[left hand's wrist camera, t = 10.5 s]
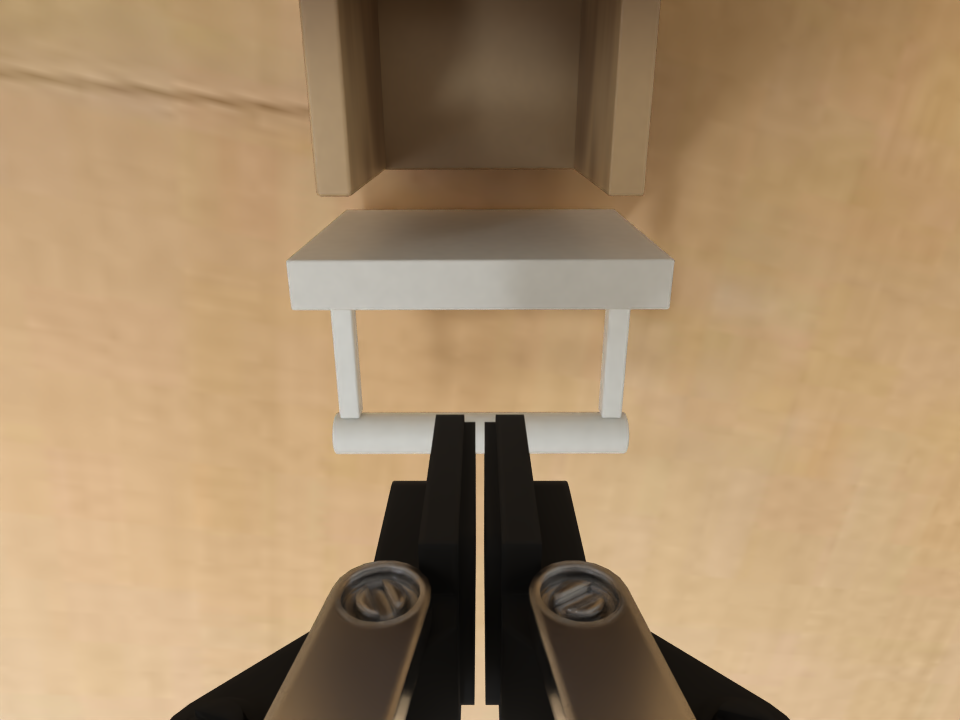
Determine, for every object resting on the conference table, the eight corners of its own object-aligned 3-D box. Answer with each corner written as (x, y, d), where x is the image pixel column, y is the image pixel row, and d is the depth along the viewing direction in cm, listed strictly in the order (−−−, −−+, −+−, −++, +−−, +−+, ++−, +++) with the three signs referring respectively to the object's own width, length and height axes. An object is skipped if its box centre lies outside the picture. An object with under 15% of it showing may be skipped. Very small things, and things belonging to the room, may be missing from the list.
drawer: (601, 392, 24) (648, 506, 17) (359, 393, 24) (313, 508, 17) (643, -194, 18) (743, -370, 11) (315, -193, 18) (214, -368, 11)
